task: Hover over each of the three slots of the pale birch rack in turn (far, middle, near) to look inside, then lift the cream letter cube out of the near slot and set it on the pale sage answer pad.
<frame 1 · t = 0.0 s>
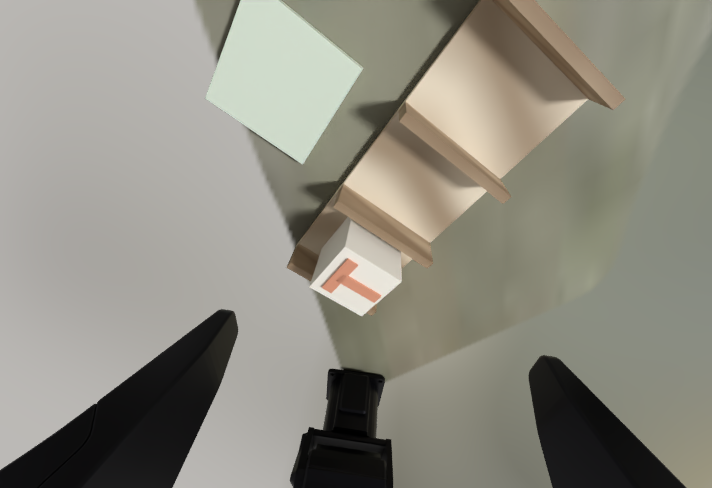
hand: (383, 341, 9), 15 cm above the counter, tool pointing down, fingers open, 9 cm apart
letter cube: (360, 245, 25), resting on slot rack
slot rack: (416, 181, 22), on the counter
answer pad: (282, 82, 19), on the counter
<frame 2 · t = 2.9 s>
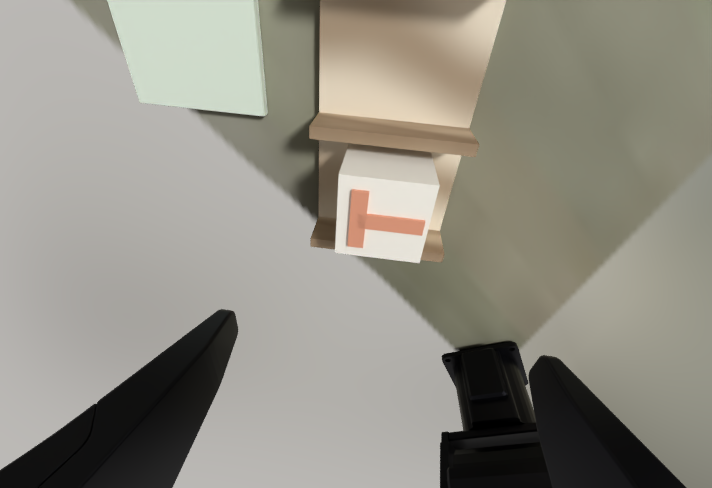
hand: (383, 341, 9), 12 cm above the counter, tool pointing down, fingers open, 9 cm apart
letter cube: (384, 181, 19), resting on slot rack
slot rack: (402, 53, 15), on the counter
answer pad: (192, 32, 16), on the counter
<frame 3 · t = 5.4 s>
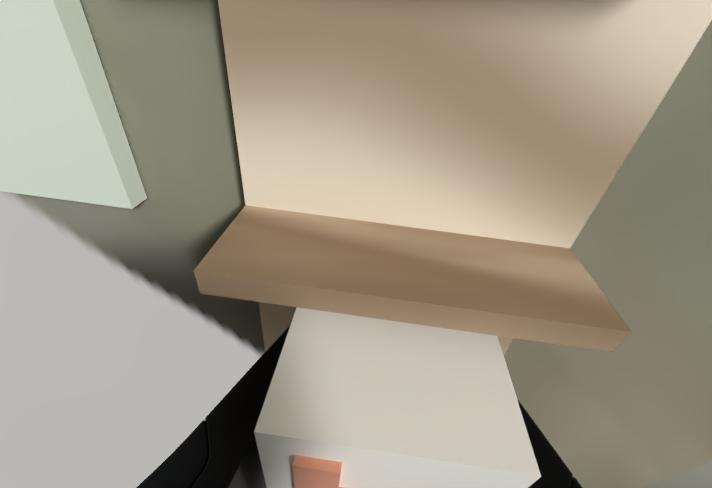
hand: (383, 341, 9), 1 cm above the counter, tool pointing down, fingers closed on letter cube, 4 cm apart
letter cube: (384, 322, 10), point 1 cm above the counter, touching gripper, slot rack
slot rack: (431, 89, 6), on the counter
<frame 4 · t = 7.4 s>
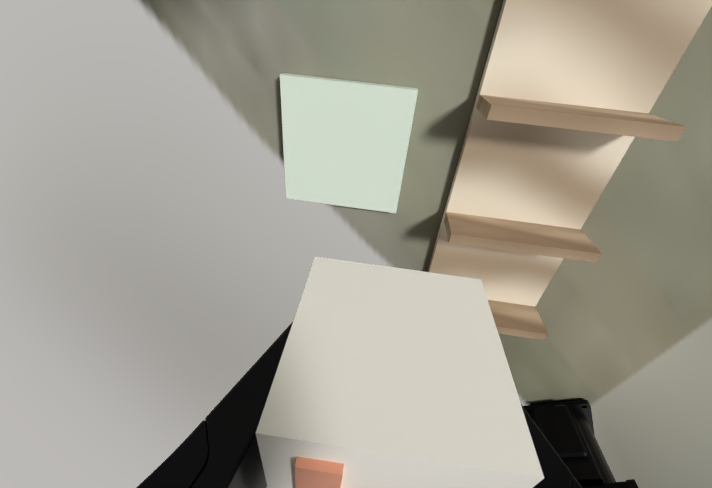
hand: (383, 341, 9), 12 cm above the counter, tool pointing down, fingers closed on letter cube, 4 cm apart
letter cube: (385, 322, 10), point 11 cm above the counter, touching gripper
slot rack: (529, 170, 18), on the counter
answer pad: (345, 147, 18), on the counter
when the fingers open (3 cm above the counter, at t = 9.6 s): letter cube drops 2 cm, resting on answer pad.
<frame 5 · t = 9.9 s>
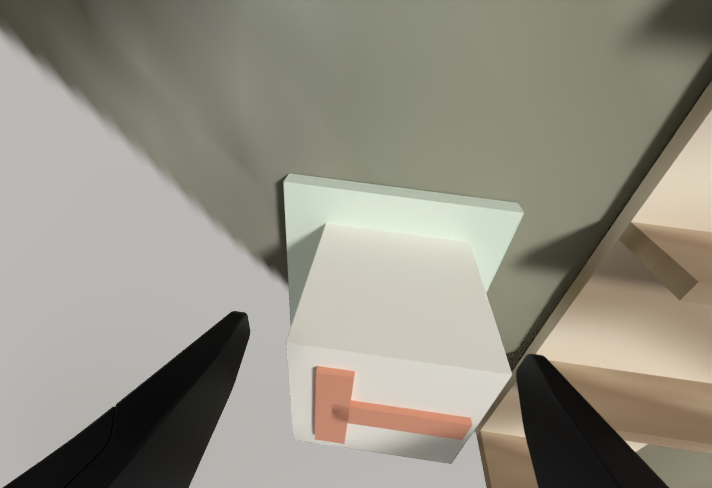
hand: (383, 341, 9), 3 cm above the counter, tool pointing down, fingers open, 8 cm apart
letter cube: (386, 284, 11), point 1 cm above the counter, touching answer pad
slot rack: (674, 313, 11), on the counter
answer pad: (385, 273, 12), on the counter
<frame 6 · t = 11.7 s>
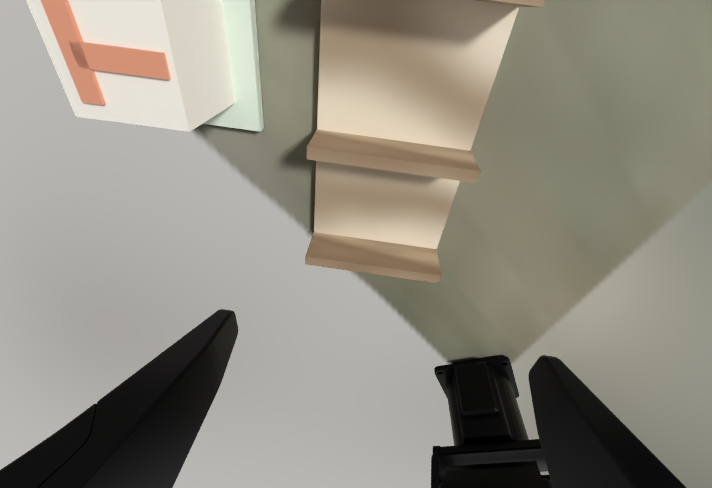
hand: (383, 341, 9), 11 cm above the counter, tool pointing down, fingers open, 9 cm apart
letter cube: (180, 44, 14), point 1 cm above the counter, touching answer pad
slot rack: (404, 73, 15), on the counter
answer pad: (185, 43, 15), on the counter
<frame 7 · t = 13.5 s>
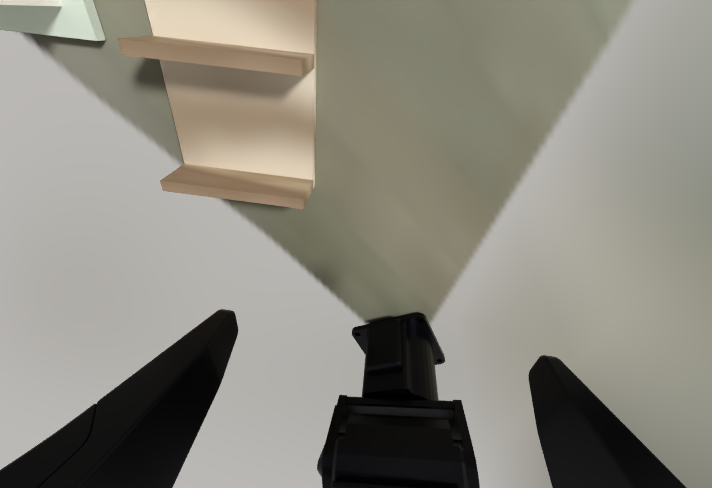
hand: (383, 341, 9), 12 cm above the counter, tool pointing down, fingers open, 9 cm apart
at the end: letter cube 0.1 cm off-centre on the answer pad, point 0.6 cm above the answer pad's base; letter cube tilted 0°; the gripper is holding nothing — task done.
